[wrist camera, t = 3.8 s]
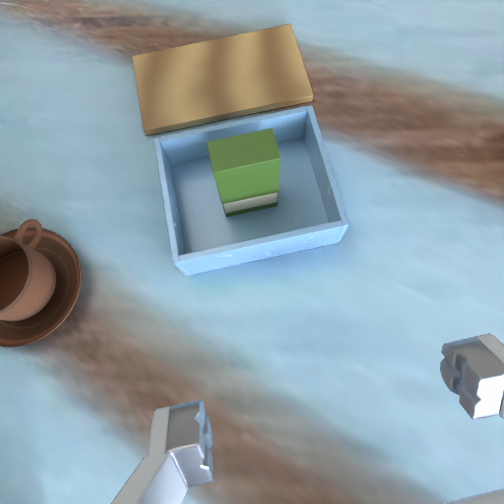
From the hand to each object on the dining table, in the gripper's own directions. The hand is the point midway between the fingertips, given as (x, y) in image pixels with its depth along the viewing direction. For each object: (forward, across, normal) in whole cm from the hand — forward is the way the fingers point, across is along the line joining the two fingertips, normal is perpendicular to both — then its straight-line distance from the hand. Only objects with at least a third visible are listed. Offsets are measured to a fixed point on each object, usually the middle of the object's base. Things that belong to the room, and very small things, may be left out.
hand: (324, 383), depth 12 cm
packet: (+28, 0, +4) cm, 29 cm away
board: (+40, 0, -8) cm, 41 cm away
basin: (+29, 0, +4) cm, 29 cm away
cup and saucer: (+26, +24, +7) cm, 36 cm away
